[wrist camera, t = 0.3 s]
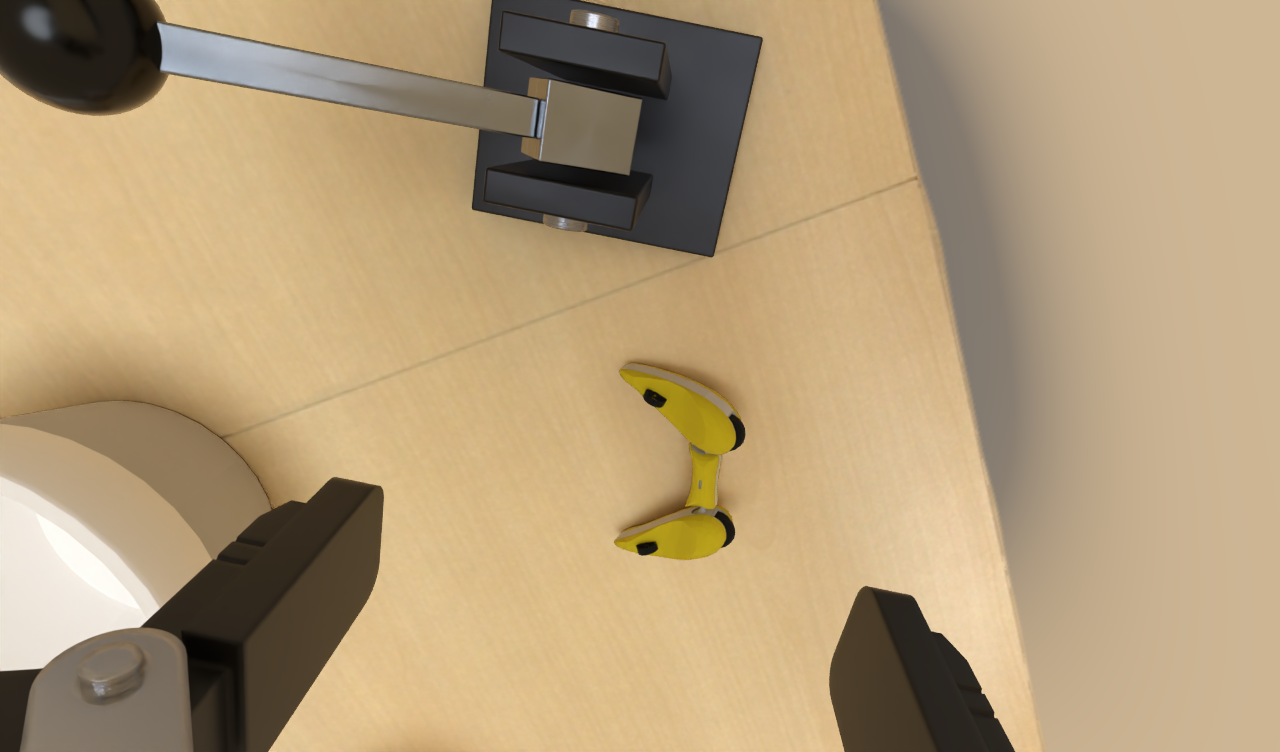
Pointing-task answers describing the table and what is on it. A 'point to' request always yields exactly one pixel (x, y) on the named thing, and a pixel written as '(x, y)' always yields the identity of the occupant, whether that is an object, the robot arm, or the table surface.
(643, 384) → the yellow bent piece
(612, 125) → the lever
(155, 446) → the bowl
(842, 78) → the table surface
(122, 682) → the robot arm
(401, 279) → the table surface
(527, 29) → the bracket
